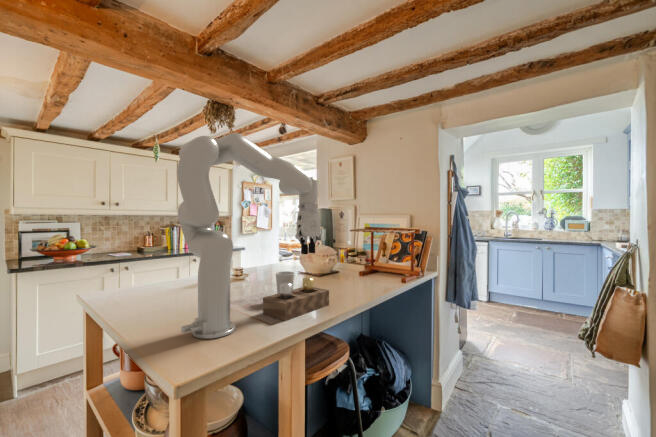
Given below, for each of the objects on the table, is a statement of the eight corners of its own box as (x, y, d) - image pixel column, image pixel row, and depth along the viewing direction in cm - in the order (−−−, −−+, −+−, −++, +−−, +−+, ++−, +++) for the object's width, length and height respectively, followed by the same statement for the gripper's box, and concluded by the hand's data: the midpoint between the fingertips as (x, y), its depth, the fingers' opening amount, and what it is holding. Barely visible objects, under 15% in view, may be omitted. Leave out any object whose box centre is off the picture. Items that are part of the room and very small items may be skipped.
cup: (293, 304, 120) (293, 275, 120) (273, 304, 120) (273, 275, 120) (295, 298, 128) (295, 271, 128) (277, 298, 128) (277, 271, 128)
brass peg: (308, 294, 115) (308, 280, 115) (300, 292, 118) (300, 278, 118) (315, 292, 118) (315, 278, 118) (307, 290, 121) (307, 276, 121)
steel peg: (285, 301, 106) (285, 285, 106) (277, 299, 109) (277, 283, 109) (294, 298, 109) (294, 283, 109) (286, 296, 112) (286, 281, 112)
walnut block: (284, 321, 100) (284, 303, 100) (262, 313, 108) (262, 297, 108) (329, 305, 119) (329, 290, 119) (307, 299, 127) (307, 285, 127)
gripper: (300, 207, 109) (300, 256, 109) (328, 208, 122) (328, 252, 122) (286, 207, 114) (286, 254, 114) (315, 208, 127) (315, 251, 127)
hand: (308, 253), depth 118 cm, fingers open, 3 cm apart
